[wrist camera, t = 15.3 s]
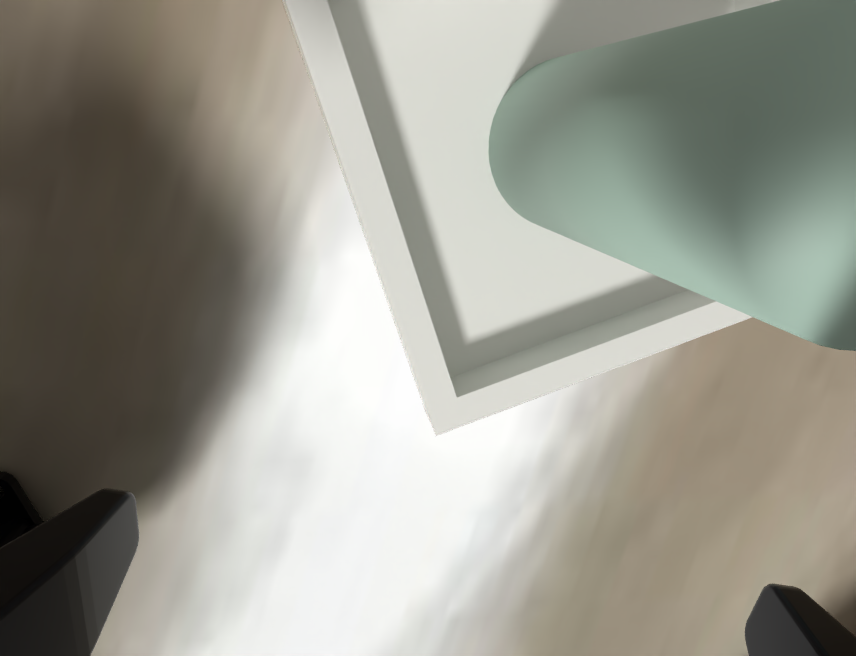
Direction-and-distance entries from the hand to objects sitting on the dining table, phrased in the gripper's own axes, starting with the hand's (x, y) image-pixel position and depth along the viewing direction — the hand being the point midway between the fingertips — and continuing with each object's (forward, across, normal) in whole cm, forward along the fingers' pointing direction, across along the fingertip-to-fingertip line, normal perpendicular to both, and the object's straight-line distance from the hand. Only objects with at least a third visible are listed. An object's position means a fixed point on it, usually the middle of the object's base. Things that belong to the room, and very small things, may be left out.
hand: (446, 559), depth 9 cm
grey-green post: (+14, -3, -4) cm, 15 cm away
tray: (+14, -3, -4) cm, 15 cm away
